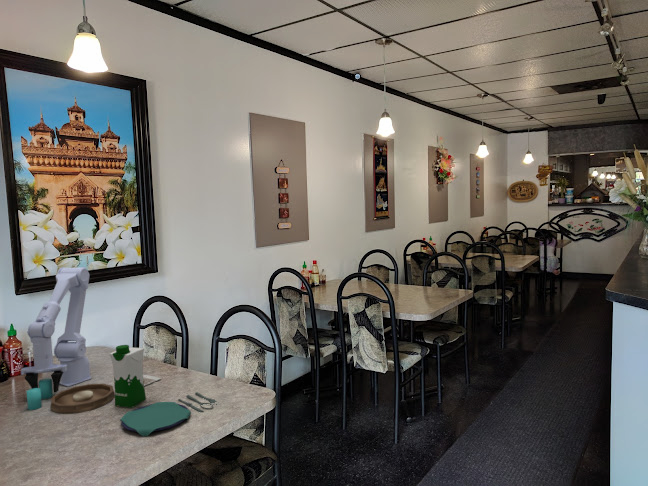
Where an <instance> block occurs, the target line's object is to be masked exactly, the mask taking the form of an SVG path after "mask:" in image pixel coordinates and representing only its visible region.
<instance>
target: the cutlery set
mask: <svg viewBox="0 0 648 486" xmlns="http://www.w3.org/2000/svg"><path fill="white" fill-rule="evenodd" d="M194 394H195V396H197V397H199V398H201V399H203V398H204V399H203V400H205V399H206V401H208V402H201V401H199V400H198V399H197V398H195V397H193V396H191V395H190V394H187V395H186V399H190V400H192V401H194V402H196V403H198V404H199V406H200V408H199V407H197V406H195V405H193V403H191V402H186V401H184V400H182V399H181V398H178V399H177V400H178V402H182V403H184V404H186V405H184V404H183V405H182V404H180V403H177V402H175V401H156V402H154V403H151V404H148V405H144V406H140V407H138V408H134V409H132V410H130V411H126V413H125V414H124V415H123V416H122V417H121V418H120V419H119V421H120V424H121V426H122V427H123V428H124V429H125V430H128V431H130V432H136V433H138V434H139V435H140V436H143V437H148V436H149V435H150V434H151V433H152V432H157V431H163V430H166V429H170V428H173V427H175V426H177V425H180V424H181V423H182V422H184V421H185V420H186V421H188V419H189V417H190V416H191V415H192V412H191V410H190V409H189V408H188V407H190V408H191V409H194V410H195V411H197V412H199V413H204V412H205V411H204V408H205V410H210V409H212V408H214V404H211V403H215V402H218V401H217V400H216V399H214V398H210V397H206V396H204V395H203V394H201V393H199V392H198V391H197V392H195V393H194ZM209 402H210V403H209ZM203 404H206V405H207V404H210V405H212V406H211V407H212V408H211V407H210V408H209V407H203V406H204V405H203ZM201 405H202V406H201ZM210 405H209V406H210ZM187 406H188V407H187ZM201 408H202V409H201Z"/></svg>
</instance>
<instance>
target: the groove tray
mask: <svg viewBox="0 0 648 486" xmlns="http://www.w3.org/2000/svg"><path fill="white" fill-rule="evenodd" d="M50 399H51V400H50V411H52V412H54V413H56V414H64V415H65V414H66V415H67V414H69V415H70V414H77V413H84V412H88V411H92V410H96V409H98V408H101V407H103V406H105V405H108V404H109V403H111V401H113V399H114V400H115V389H114V386H113V385H111V384H106V383H88V384H83V385H82V384H81V385H78V386H73V387H70V388H68V389H65V390H61V391H59V392H58V393H55V395H53V396H52V397H51V398H50Z"/></svg>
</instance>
